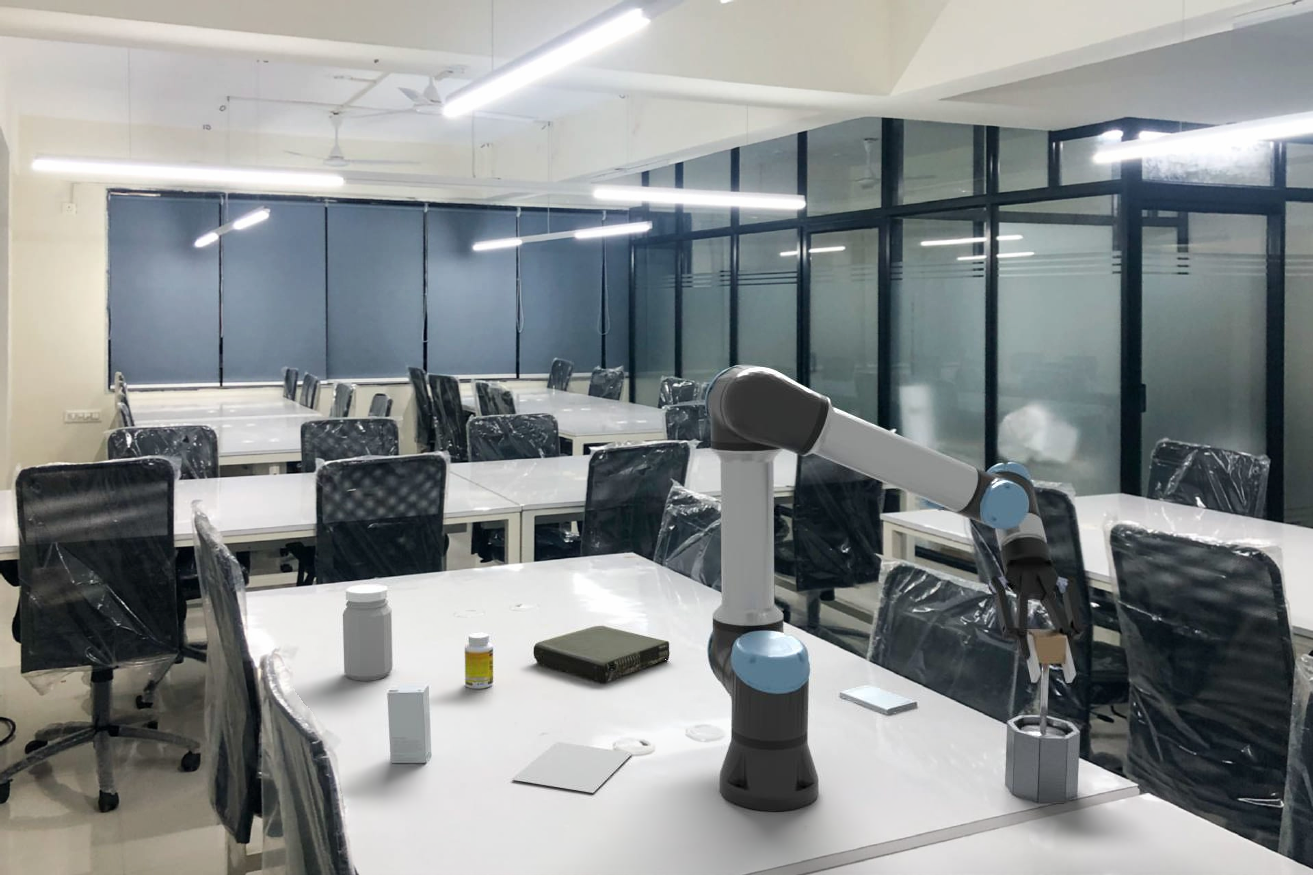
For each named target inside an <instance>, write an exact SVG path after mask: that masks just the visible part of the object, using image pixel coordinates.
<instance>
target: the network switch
mask: <svg viewBox="0 0 1313 875" xmlns="http://www.w3.org/2000/svg"><path fill="white" fill-rule="evenodd" d="M532 654H533V657H534V659H535V660H536V663H537V664H538V665H541V666H544V667H547V668H549V669H553V670H558V671H561V672H564V673H567V674H570V675H573V676H576V677H579V678H582V679H585V680H587V681H591V682H595V683H597V682H598V684H602V685H604V684H608V682H611V681H613V680H614V679H616V678H618V679H620V678H621V677H622V676H625V675H630V674H631V673H634V672H637V671H639V670H640V671H642V670H643V669H644V668H647V667H650V666H652V665H655V664H658V663H661V662H662V661H663V662H664V661H665V659H666V660H668V661H669V658H670V641H667V640H663V639H659V638H655V637H651V636H647V635H643V634H638V633H633V632H630V631H626V630H622V629H617V628H612V627H610V626H605V625H595V626H591V627H588V628H584V629H581V630H576V631H573V632H570V633H566V634H563V635H558V636H555V637H551V638H548V639H544V640H542V641H539V642H536V643H535V644H534V646H533V652H532Z"/></svg>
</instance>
